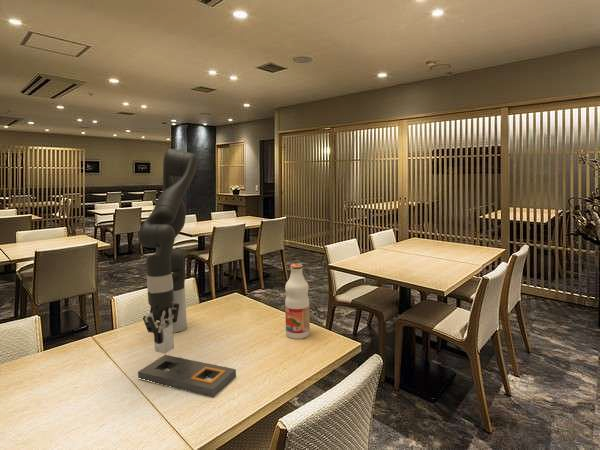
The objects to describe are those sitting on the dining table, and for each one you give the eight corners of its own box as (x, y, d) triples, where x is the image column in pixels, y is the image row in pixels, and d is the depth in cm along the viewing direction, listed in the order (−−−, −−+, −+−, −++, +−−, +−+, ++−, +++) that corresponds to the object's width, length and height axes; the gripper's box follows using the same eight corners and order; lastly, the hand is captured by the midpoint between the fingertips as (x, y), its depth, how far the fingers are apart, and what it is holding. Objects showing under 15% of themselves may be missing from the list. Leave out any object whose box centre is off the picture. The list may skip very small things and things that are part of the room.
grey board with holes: (138, 379, 120) (137, 371, 119) (165, 361, 131) (164, 354, 130) (213, 397, 109) (213, 388, 109) (236, 376, 120) (235, 368, 120)
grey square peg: (155, 351, 121) (153, 327, 120) (164, 346, 124) (162, 322, 123) (165, 353, 119) (163, 329, 118) (173, 348, 123) (172, 324, 122)
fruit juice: (314, 336, 148) (312, 266, 145) (291, 341, 144) (290, 269, 141) (303, 327, 157) (302, 261, 153) (282, 332, 153) (280, 263, 149)
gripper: (167, 280, 127) (170, 329, 129) (133, 293, 114) (137, 347, 116) (185, 282, 124) (188, 333, 126) (152, 296, 111) (156, 352, 113)
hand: (163, 340), depth 121 cm, fingers closed on grey square peg, 4 cm apart
